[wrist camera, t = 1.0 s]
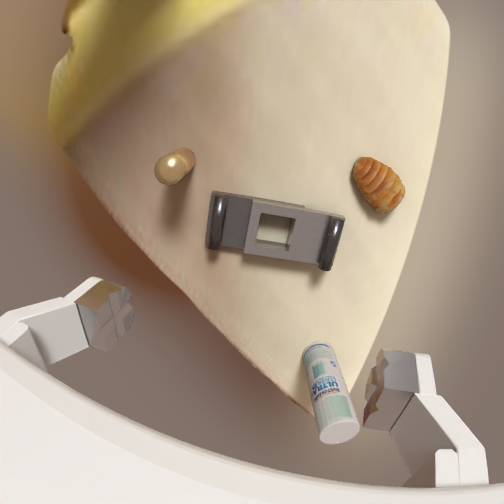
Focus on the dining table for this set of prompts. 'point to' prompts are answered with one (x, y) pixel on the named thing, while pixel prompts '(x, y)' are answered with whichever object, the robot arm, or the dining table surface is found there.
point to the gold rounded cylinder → (174, 166)
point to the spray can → (329, 395)
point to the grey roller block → (244, 237)
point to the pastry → (378, 184)
